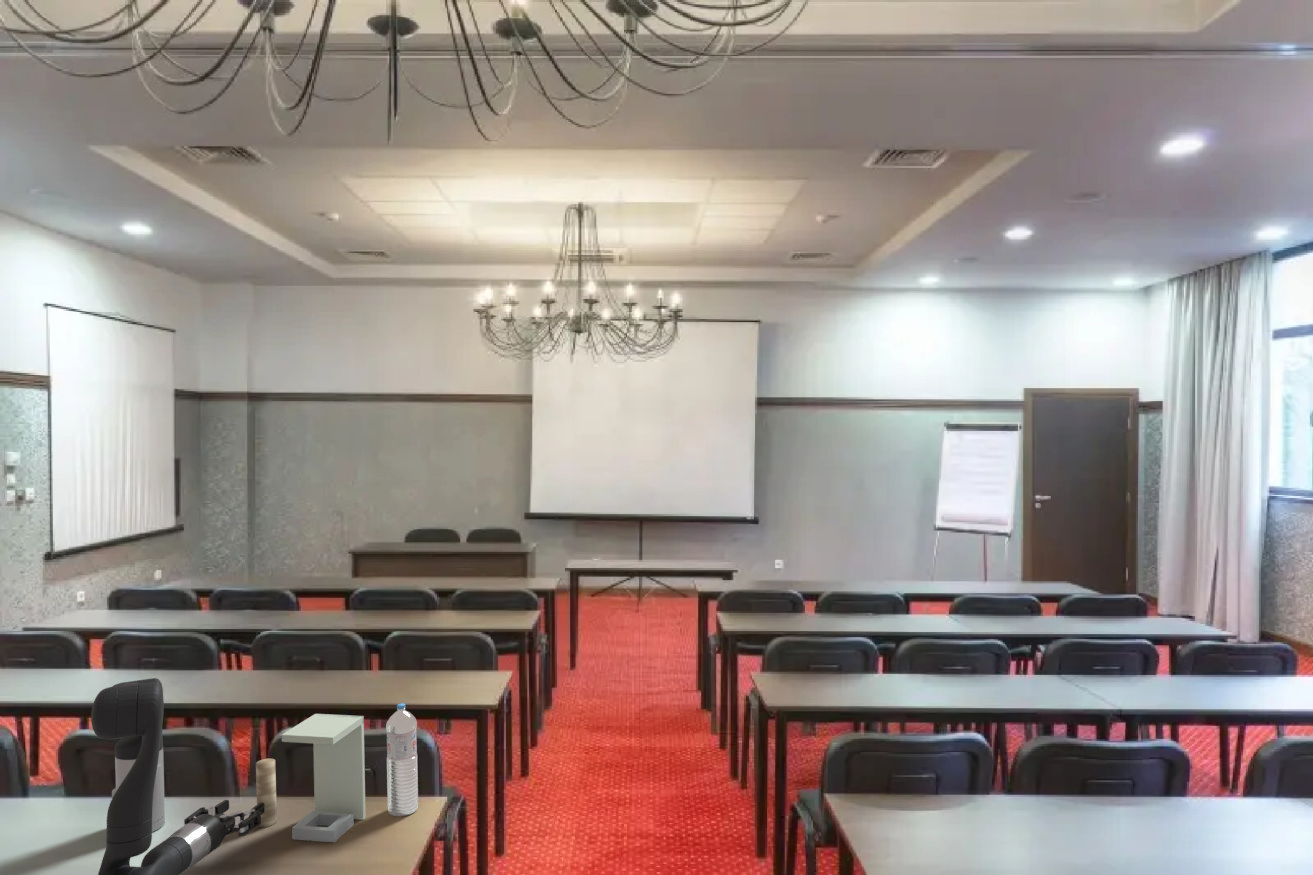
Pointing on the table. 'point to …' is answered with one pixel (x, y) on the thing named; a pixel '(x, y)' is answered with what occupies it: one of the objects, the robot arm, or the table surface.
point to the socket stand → (332, 774)
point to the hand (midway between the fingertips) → (245, 805)
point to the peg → (266, 790)
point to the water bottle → (402, 763)
